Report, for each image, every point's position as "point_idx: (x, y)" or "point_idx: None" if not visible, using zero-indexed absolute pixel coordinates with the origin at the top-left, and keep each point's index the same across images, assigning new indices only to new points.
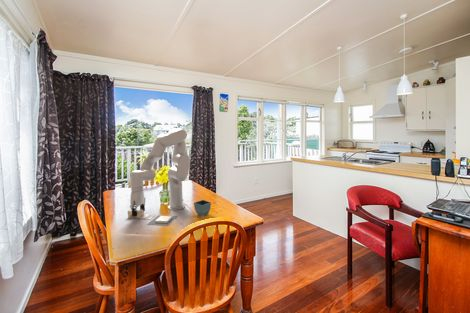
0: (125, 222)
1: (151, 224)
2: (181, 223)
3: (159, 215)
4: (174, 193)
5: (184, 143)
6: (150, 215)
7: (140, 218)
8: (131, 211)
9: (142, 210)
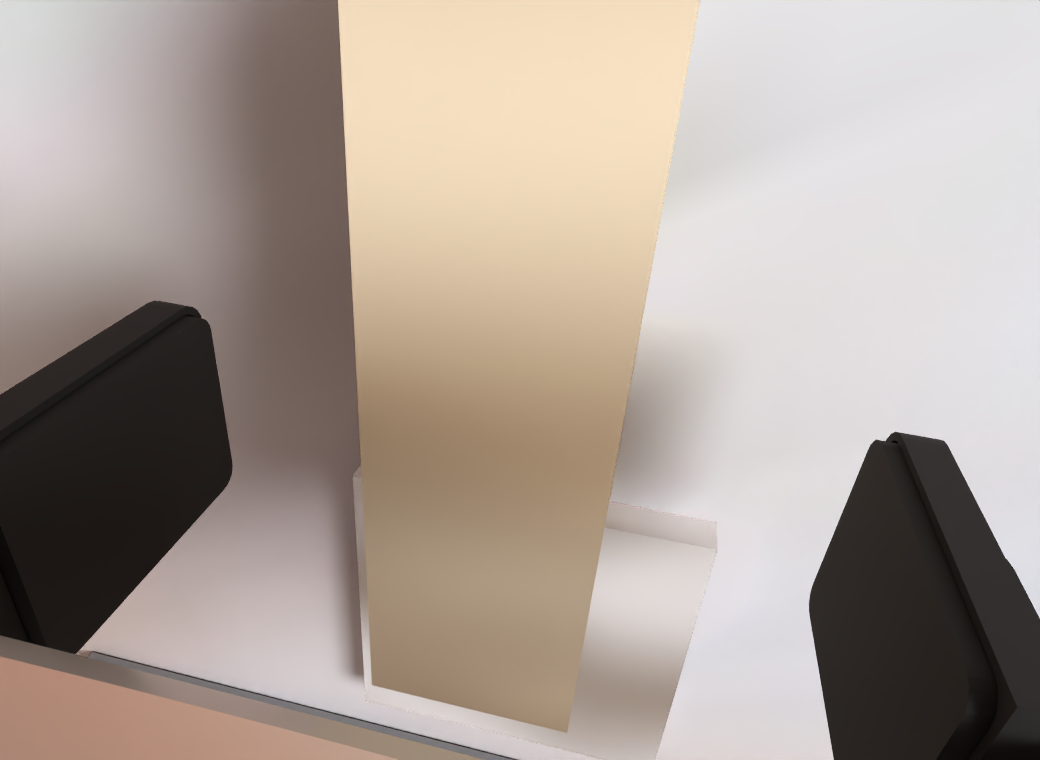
0: (38, 49)
1: None
2: None
3: None
4: None
5: None
6: (626, 682)
7: (357, 484)
8: (360, 160)
9: (488, 700)
